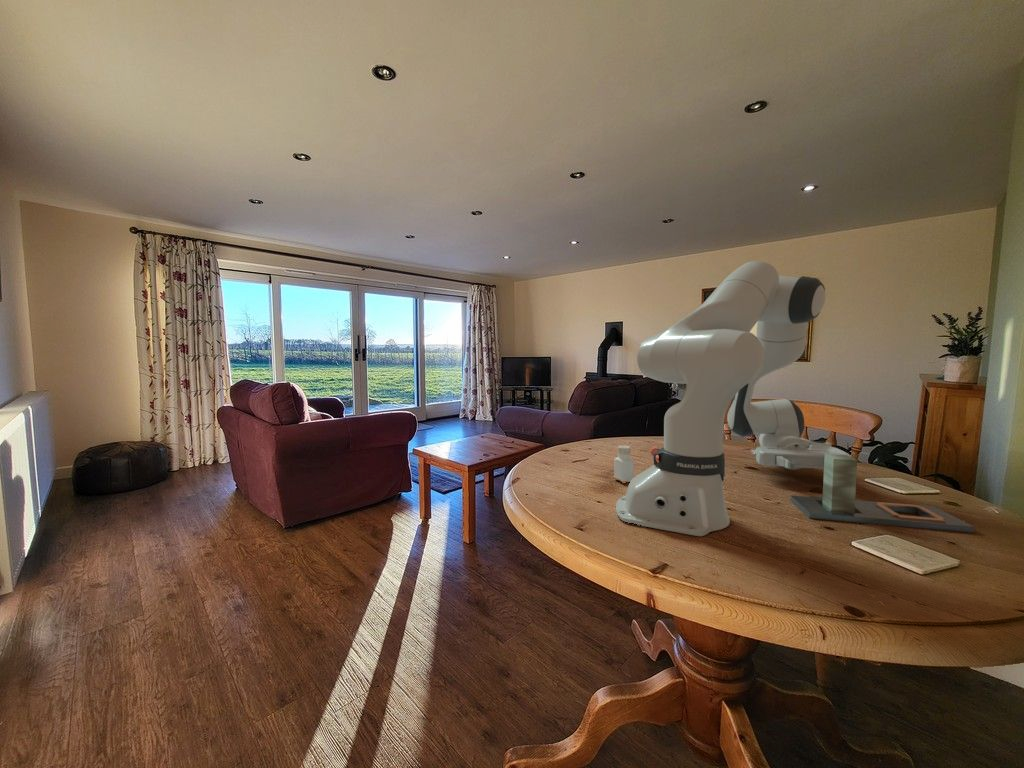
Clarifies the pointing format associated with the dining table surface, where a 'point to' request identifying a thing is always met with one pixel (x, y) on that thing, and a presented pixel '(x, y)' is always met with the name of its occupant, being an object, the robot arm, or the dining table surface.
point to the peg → (839, 483)
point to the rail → (884, 514)
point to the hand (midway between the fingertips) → (814, 466)
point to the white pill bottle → (624, 464)
